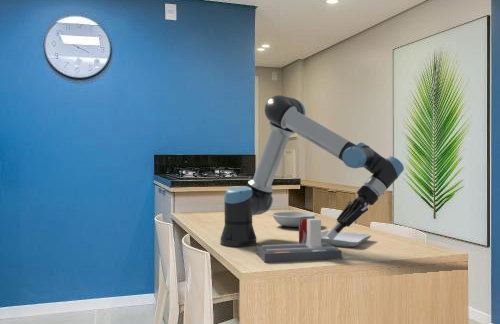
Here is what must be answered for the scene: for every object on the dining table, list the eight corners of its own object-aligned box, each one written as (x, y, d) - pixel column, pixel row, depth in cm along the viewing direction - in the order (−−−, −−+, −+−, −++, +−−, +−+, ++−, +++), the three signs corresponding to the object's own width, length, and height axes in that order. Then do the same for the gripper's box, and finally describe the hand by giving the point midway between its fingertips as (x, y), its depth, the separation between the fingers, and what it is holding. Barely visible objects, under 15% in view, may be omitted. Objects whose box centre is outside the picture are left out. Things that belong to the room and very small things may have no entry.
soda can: (307, 249, 177) (307, 219, 177) (295, 246, 183) (295, 217, 182) (320, 247, 181) (320, 217, 181) (308, 244, 187) (308, 215, 187)
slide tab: (306, 245, 168) (306, 218, 168) (316, 245, 169) (316, 218, 169) (311, 249, 162) (311, 220, 162) (321, 248, 163) (321, 220, 163)
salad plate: (372, 241, 196) (372, 233, 196) (357, 250, 177) (357, 241, 177) (326, 237, 207) (326, 229, 206) (307, 245, 188) (307, 236, 188)
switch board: (256, 254, 168) (256, 244, 168) (328, 251, 173) (328, 241, 173) (264, 262, 155) (264, 251, 155) (341, 258, 161) (341, 248, 161)
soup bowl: (316, 230, 222) (316, 217, 222) (267, 229, 226) (267, 216, 226) (316, 223, 246) (316, 211, 246) (273, 222, 249) (273, 210, 249)
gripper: (386, 200, 164) (342, 247, 161) (369, 196, 176) (329, 241, 173) (372, 185, 163) (328, 233, 159) (356, 183, 175) (316, 227, 172)
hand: (329, 237), depth 166 cm, fingers closed
